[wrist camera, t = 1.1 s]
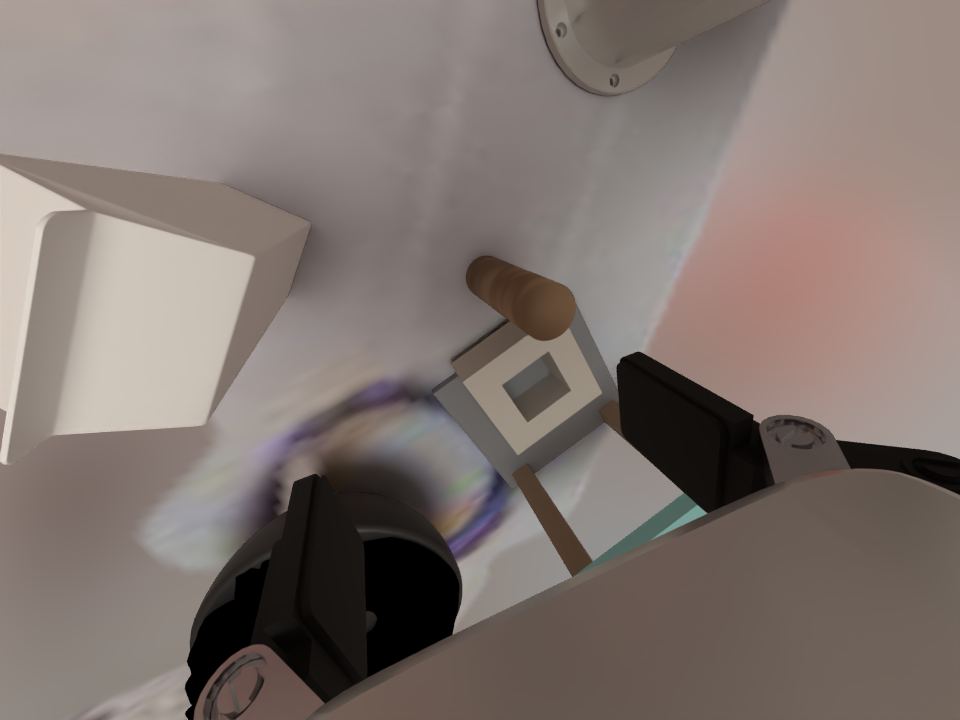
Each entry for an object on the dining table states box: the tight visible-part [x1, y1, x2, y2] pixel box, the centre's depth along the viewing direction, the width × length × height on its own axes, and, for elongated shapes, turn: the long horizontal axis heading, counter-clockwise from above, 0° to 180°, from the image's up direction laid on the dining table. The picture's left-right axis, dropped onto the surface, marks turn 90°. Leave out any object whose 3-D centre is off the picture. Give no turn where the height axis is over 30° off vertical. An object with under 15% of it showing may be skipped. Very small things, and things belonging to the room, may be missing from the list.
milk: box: [0, 154, 312, 465], centre depth 17 cm, size 6×6×22 cm
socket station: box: [432, 302, 708, 577], centre depth 32 cm, size 16×18×17 cm
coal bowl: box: [185, 492, 462, 720], centre depth 30 cm, size 20×20×19 cm
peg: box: [466, 256, 576, 341], centre depth 28 cm, size 4×4×12 cm
